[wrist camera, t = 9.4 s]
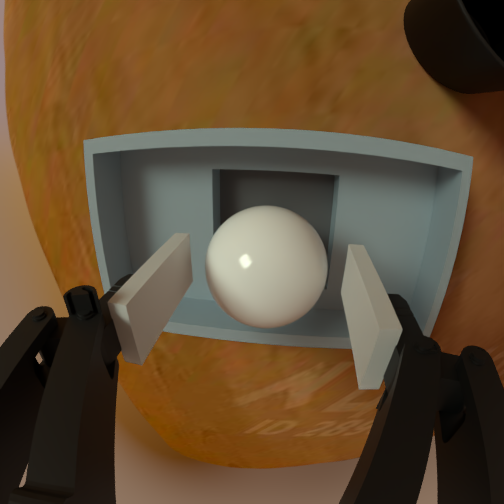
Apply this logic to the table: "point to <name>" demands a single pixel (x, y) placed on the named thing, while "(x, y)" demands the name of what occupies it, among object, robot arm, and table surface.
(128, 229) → the socket box
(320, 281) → the lightbulb
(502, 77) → the mug
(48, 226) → the table surface
